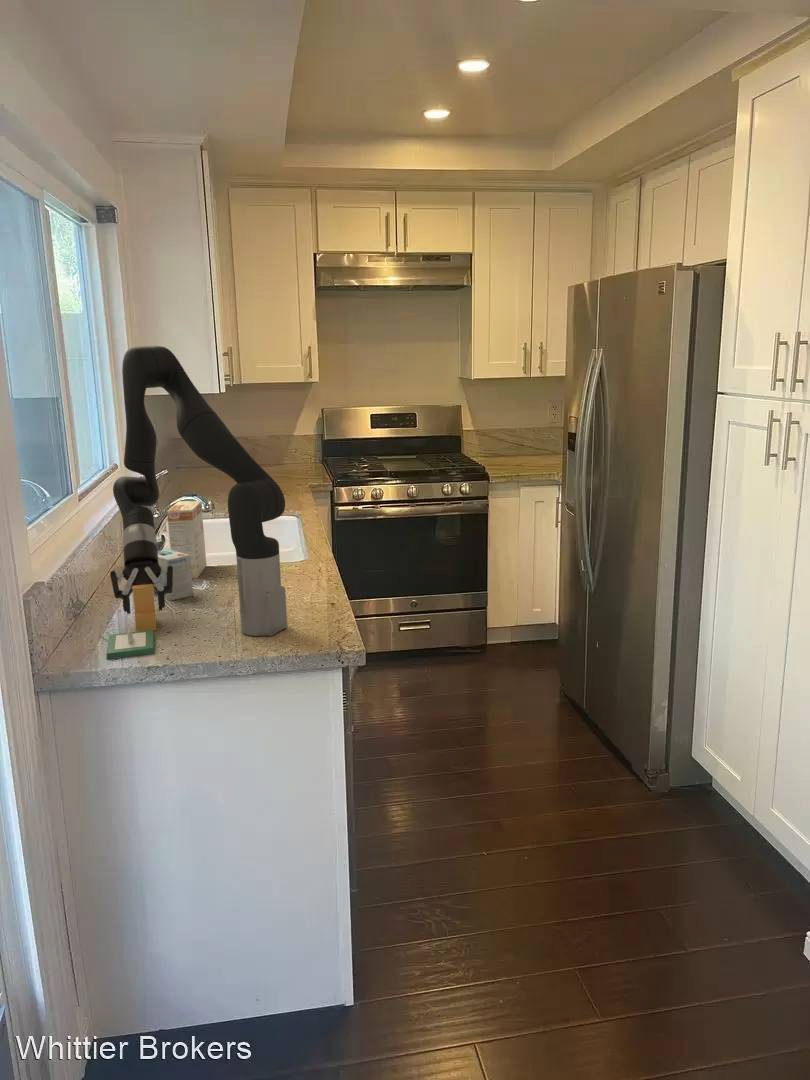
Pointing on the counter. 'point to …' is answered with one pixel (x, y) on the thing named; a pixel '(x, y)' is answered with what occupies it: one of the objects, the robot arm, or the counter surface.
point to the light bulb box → (176, 573)
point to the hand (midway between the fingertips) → (144, 610)
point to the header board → (130, 644)
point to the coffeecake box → (188, 533)
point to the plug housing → (144, 607)
